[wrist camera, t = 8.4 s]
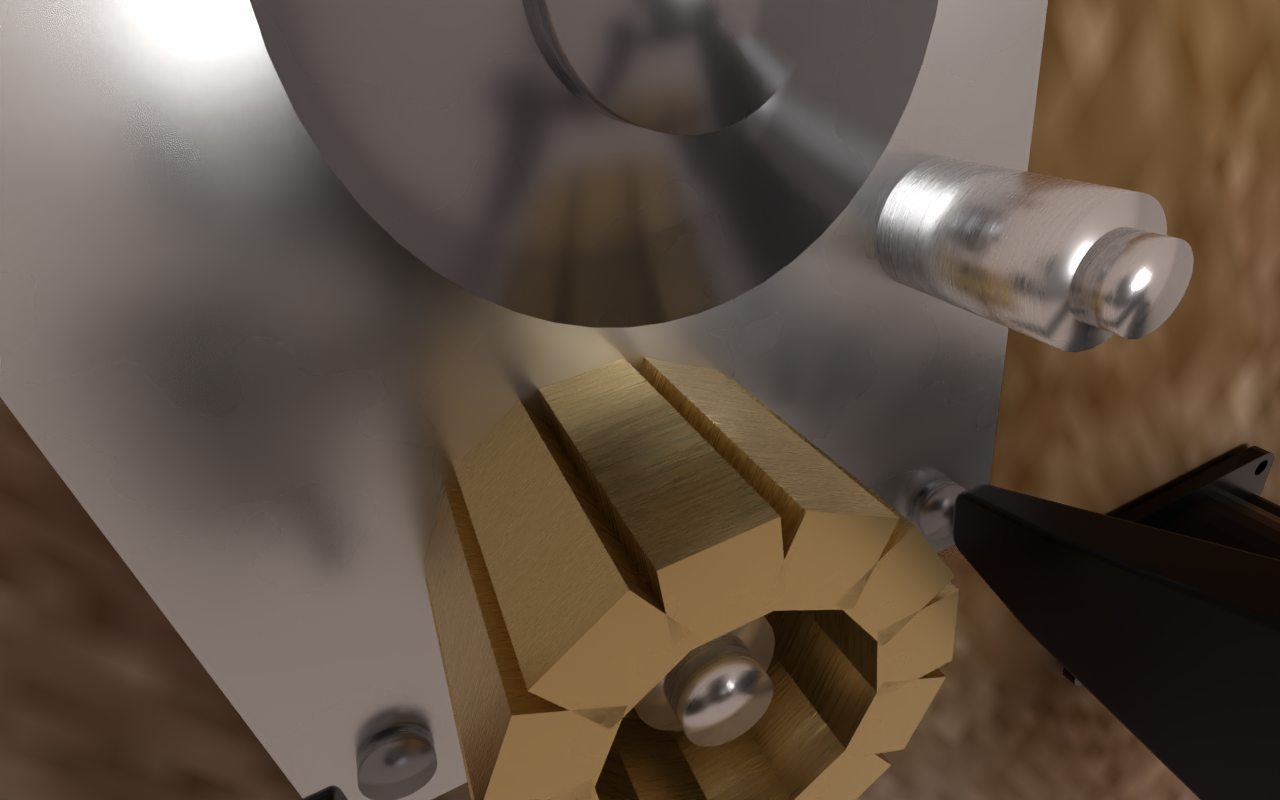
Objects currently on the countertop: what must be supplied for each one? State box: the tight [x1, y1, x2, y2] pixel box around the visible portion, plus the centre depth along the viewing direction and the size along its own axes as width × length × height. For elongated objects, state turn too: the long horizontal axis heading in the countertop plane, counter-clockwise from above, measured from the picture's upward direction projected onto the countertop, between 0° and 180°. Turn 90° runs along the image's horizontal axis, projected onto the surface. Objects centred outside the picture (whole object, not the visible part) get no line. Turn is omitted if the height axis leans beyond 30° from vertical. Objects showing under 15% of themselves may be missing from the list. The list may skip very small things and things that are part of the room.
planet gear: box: [424, 357, 959, 800], centre depth 10 cm, size 6×6×4 cm
